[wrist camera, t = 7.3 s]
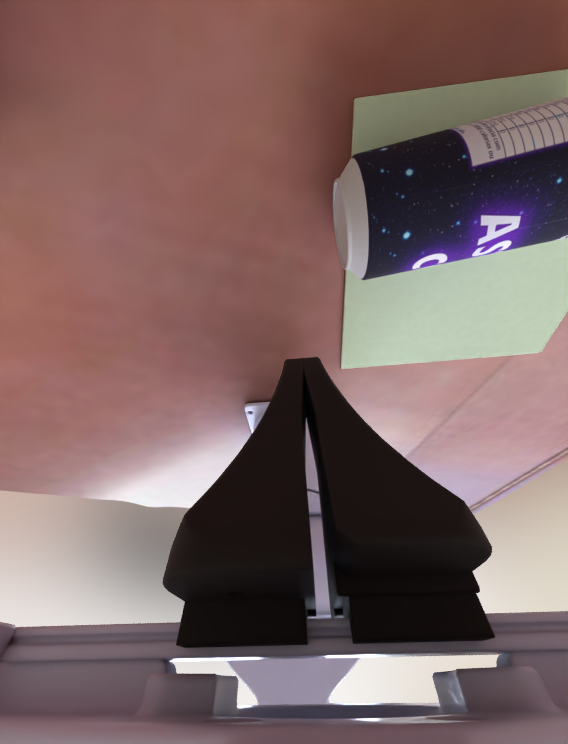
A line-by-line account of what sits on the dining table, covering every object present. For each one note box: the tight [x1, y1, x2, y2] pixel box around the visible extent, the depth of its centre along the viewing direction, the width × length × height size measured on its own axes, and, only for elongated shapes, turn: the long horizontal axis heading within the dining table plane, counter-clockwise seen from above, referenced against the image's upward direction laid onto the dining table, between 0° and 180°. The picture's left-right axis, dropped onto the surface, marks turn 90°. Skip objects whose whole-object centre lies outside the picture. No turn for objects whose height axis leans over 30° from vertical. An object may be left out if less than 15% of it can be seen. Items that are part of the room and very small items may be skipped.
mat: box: [341, 69, 568, 369], centre depth 18 cm, size 17×17×1 cm
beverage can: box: [333, 97, 568, 280], centre depth 13 cm, size 6×6×12 cm
